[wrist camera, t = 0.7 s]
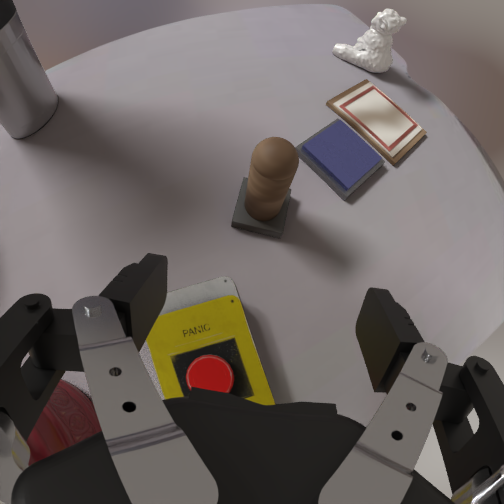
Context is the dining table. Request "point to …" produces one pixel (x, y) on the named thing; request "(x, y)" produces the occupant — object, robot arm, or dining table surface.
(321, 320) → the dining table surface
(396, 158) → the framed board
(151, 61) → the dining table surface
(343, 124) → the ink pad
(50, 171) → the dining table surface
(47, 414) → the canister
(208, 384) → the emergency button
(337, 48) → the seated beast figurine
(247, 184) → the stamp
